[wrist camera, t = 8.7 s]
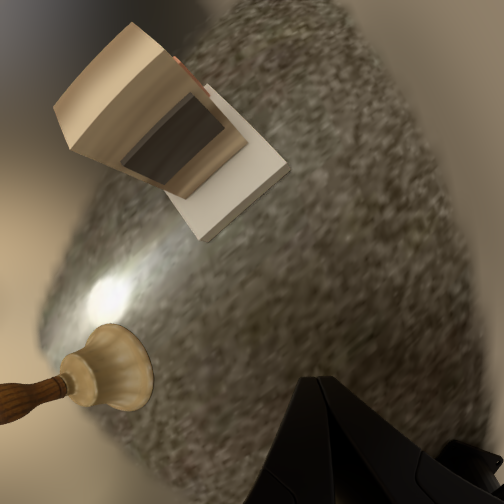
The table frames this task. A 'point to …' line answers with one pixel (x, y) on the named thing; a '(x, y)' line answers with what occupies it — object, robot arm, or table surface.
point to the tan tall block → (146, 117)
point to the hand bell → (89, 377)
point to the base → (230, 177)
